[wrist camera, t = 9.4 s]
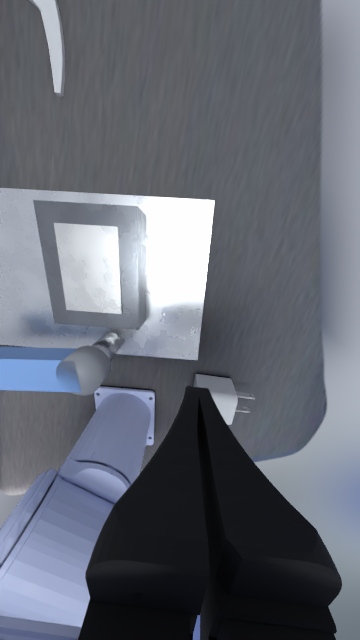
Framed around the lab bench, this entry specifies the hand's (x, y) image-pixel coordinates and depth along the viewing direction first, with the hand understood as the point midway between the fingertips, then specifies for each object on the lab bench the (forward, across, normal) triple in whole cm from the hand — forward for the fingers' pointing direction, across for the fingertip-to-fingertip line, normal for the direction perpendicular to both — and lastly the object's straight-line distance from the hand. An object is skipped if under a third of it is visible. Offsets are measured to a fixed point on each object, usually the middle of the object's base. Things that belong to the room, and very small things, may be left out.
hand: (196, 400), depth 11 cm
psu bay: (+10, +11, -5) cm, 16 cm away
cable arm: (+5, +16, +2) cm, 17 cm away
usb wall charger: (+11, -4, +8) cm, 14 cm away
